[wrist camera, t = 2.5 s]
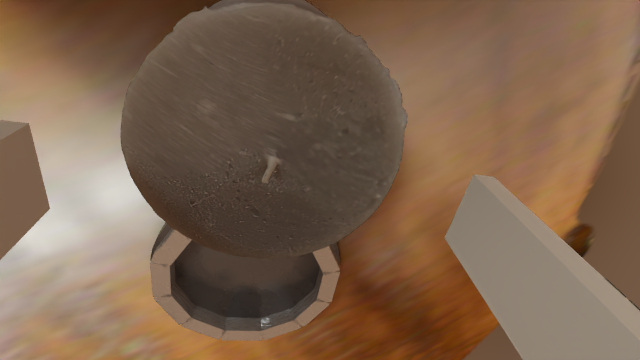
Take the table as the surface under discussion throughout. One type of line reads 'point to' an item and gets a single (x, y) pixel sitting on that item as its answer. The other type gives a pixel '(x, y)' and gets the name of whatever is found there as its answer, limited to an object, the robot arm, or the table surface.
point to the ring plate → (240, 288)
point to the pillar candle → (263, 129)
